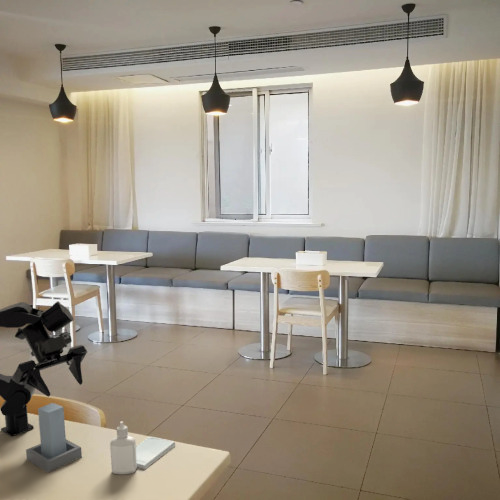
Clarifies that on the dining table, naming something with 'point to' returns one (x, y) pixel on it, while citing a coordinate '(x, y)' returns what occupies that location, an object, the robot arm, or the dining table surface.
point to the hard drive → (151, 451)
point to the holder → (55, 462)
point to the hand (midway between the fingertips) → (65, 389)
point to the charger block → (52, 430)
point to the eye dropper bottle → (123, 452)
